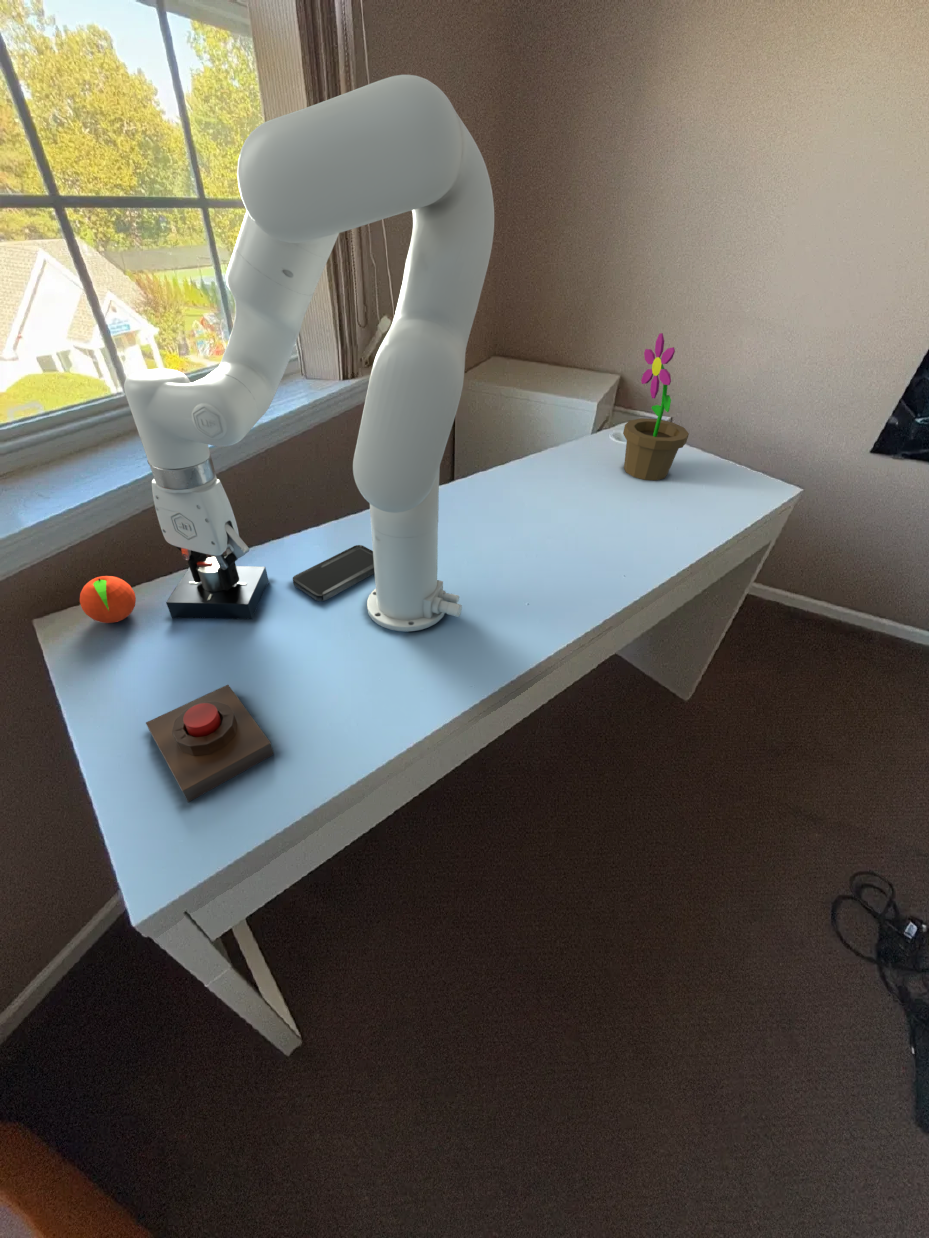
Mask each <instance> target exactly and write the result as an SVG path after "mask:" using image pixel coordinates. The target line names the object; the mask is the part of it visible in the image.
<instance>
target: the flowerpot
mask: <svg viewBox="0 0 929 1238" xmlns="http://www.w3.org/2000/svg"><path fill="white" fill-rule="evenodd" d="M654 345H655V346H654V351H653V350H652V349H651V348H650V349H649V348H645V349H644V352H643V356H644V357H643V358H644V361H645V362H646V363H647V364H648V365H651V368H647V369H646V370H645V372H643V373H642V377H641V380H640V382H641V385H645V384H649V383H650V388H649V389H650V390H649V392H650V397H651V399H656V397H657V395H658V393H659V389H660V382H661V383H662V393H661V403H660V405H659V404H655V405H652V406H651V408H650V409H651V410H652V411H653V412H654V414H655V415H656V416H657V418H645V417H640V418H636V419H630V420H628V421H627V422H626V423H625V424H624V428H623V431H622V435H623V437H624V439H625V440H626V443H625V454H624V462H623V469H624V472H625V473H626V474H627V475H629V476H630V477H633V478H636V479H639V480H643V481H660V480H663V479H665V478H666V477H667V476H668V474H669V472H670V469H671V467H672V465H673V462H674V460H675V458H676V456H677V454H678V452H679V449H682V448H683V447H684V446H685V445H686V444H687V441H688V438H689V435H690V432H688V431H687V429H686V428H685V427H684V426H682V425H680V424H677V423H675V422H672V421H668V420H664V419H663V415H664V412H666V413H669V412H670V408H671V403H672V399H671V396H670V394H668V387H669V386H670V385H671V382H672V379H671V378H672V377H671V373H670V372H669V371H668V369H667V368H665V366H664V365H667V364H669V363H670V362H671V361H672V360H673V357H674V355H675V352H676V350H675V347H674V346H673V347H667V348H666V349H665V351H664V347H665V337H664V333H663V332H661V333H659V334H658V336H657V338H656V340H655V344H654Z"/></svg>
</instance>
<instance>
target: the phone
mask: <svg viewBox="0 0 929 1238" xmlns="http://www.w3.org/2000/svg"><path fill="white" fill-rule="evenodd" d="M373 575H375V572H374V559H373V549H370V548H368V547H366V546H364V545H362V544H356V545H353V546H352V547H349V548H347V549H346V550H344V551H341V552H339V553H337V554H335V555H333V556H331V557H329V558H327V559H324V560H323V561H321V562H319V563H317V564H315V565H313V566H311V567H309V568H307V569H305V570H303V571H301V572H299V573H297V574H295V575H293V577H292V583H293V586H294V587H295V588H296V589H298V590H300V591H301V592H303V593H304V594H305V595H307V596H308V597H311V598H312V599H313V600H315V601H317V602H325V601H327V600H329V599H331V598H332V597H335V596H336V595H338V594H340V593H342V592H344V591H345V590H347V589H349V588H350V587H353V586H354V585H356V584H358V583H361V582H362V581H364V580H365V579H367V578H369V577H370V576H373Z"/></svg>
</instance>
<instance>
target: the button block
mask: <svg viewBox="0 0 929 1238" xmlns="http://www.w3.org/2000/svg"><path fill="white" fill-rule="evenodd" d="M202 703H209V704H212V705H214V706H215V707H216V708H217V711H218V713H219V716H220V719H221V723H220V726H219V728H218V729H217V730H216V731H215V732H213V733H211V734H209V735H207V736H204V737H194V736H192V735H190V734H189V733H188V731H187V728H186V726H185V724H184V721H183V717H184V715H185V713H186V712H187V711H188V710H189V709H190V708H191V707H193V706H195V705H198V704H202ZM145 725H146V727H147V729H148V731H149V733H150V735H151V736H152V739H153V741H154V742H155V744H156V746H157V749H159V751H160V753H161V755H162V757H163V759H164V760H165V762H166V765H167V767H168V768H169V770H170V772H171V774H172V775H173V778H174V779H175V781H176V783H177V785H178V787H179V789H180V790H181V792H182V795H183V797H184V798H185V800H186V802H187V803H190V802H192V801H193V800H195V799H197V798H199V797H200V796H202V795H204V794H206V793H208V792H210V791H211V790H213V789H215V788H216V787H218V786H221V785H223V784H224V783H225V782H228V781H229V780H231V779H232V778H234V777H236V776H238V775H240V774H242V773H243V772H245V771H247V770H249V769H251V768H252V767H254V766H256V765H258V764H260V763H261V762H263V761H265V760H266V759H268V758H271V757H272V756H274V755H275V752H274V748H273V745H272V743H271V741H270V739H269V738H268V737H267V736H266V734H265V732H264V731H263V730H262V728H261V727H260V726H259V724H258V722H256V720H255V719H254V718H253V716H252V715H251V713H250V712H249V711H248V709H247V708H246V707H245V705H244V704H243V703H242V700H240V698H239V697H238V695H237V694H236V693H235V691H234V690H233V689H232V687H231V686H230V684H226V685H224V686H221V687H220V688H217V689H214V690H213V691H211V692H208V693H207V694H204V695H201V696H199V697H197V698H195V699H193V700H192V701H189V702H187V703H185V704H183V705H180V706H178V707H176V708H174V709H172V710H170V711H167V712H166V713H163V714H161V715H159V716H157V717H155V718H153V719H151V720H148V721H146V722H145Z"/></svg>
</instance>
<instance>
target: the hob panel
mask: <svg viewBox="0 0 929 1238" xmlns="http://www.w3.org/2000/svg"><path fill="white" fill-rule="evenodd" d="M236 568H237V572H238V576H239V581H238V582H237V583H236V584H235V585H234V586H233V587H231V588H230V589H229V590H228V591H226V590H222V591H217V592H211V591H207V590H205V589H204V588H203V586H202V583H201V582H199V583H196V582H194V579H193V576H192V573H191V570H190V567H189V566H188V568H187V569H186V571H185V573H184V574H183V576H182V577H181V579H180V580H179V582H178V583H177V585H176V587H175V588H174V590H173V591H172V593H171V594H170V595H169V597H168V599H167V600H166V601H165V604H166V607H167V609H168V612H169V614H170V617H171V618H172V619H202V620H203V619H206V620H207V619H211V620H253V619H254V618H253V617H255V613H256V611H257V609H258V607H259V604H260V603H261V600H262V598H263V596H264V594H265V591H266V589H267V586H268V584H269V582H270V581H269V576H268V572H267V567H266V566H255V565H254V566H251V565H247V566H246V565H236Z"/></svg>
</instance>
